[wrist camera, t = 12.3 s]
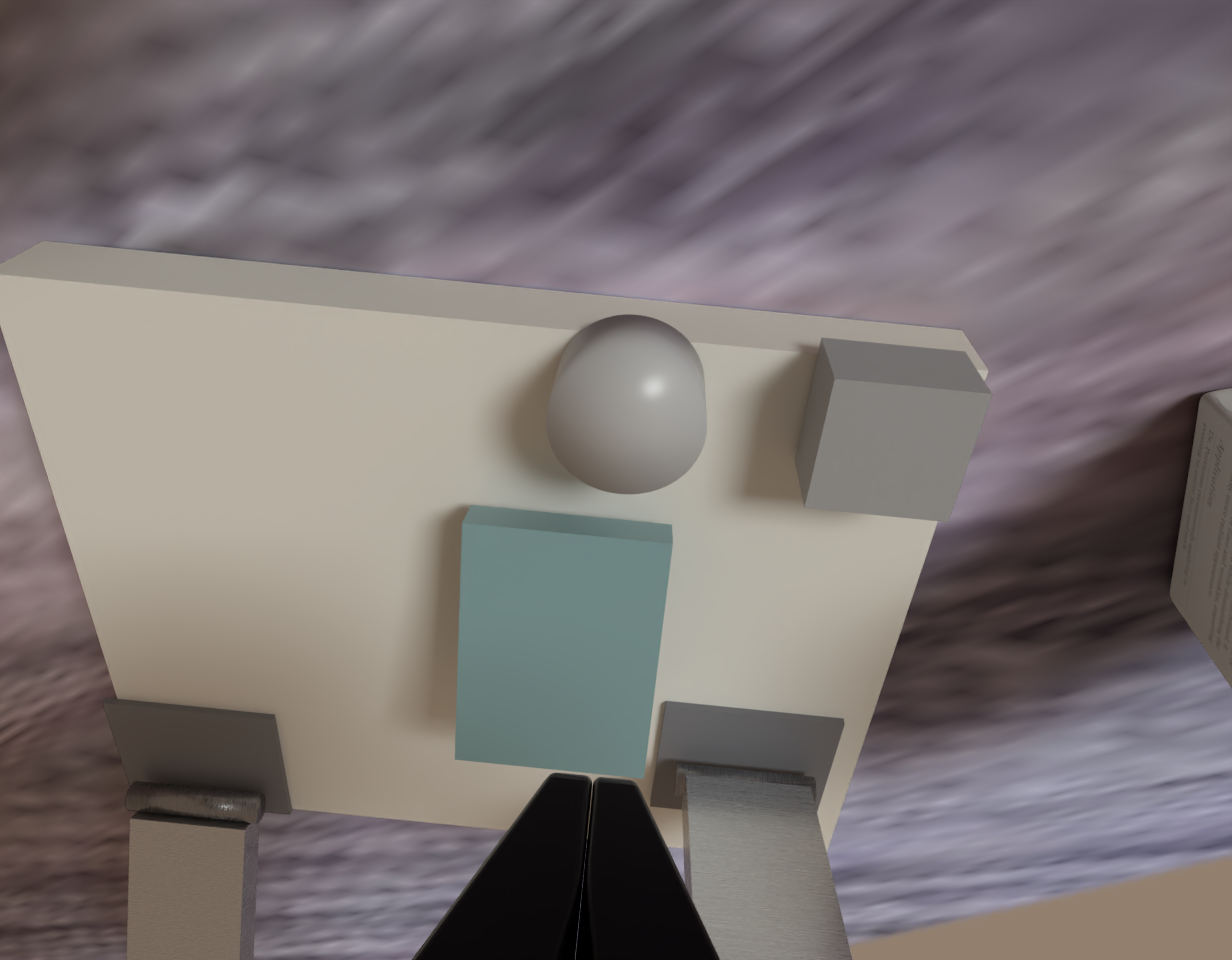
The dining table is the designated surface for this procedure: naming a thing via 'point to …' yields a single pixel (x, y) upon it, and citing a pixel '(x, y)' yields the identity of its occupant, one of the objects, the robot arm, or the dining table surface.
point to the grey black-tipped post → (759, 865)
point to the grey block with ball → (192, 872)
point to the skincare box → (1208, 533)
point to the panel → (423, 525)
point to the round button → (628, 405)
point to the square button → (889, 429)
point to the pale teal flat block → (559, 639)
